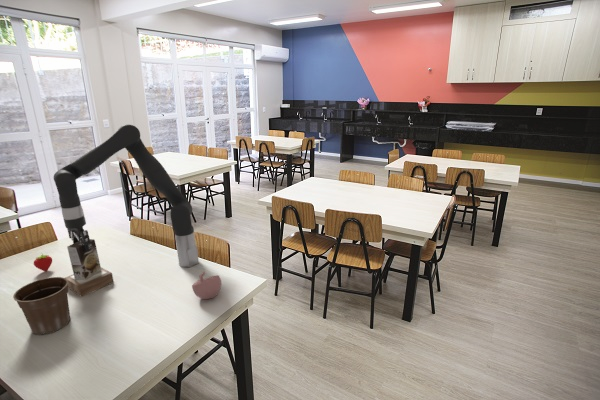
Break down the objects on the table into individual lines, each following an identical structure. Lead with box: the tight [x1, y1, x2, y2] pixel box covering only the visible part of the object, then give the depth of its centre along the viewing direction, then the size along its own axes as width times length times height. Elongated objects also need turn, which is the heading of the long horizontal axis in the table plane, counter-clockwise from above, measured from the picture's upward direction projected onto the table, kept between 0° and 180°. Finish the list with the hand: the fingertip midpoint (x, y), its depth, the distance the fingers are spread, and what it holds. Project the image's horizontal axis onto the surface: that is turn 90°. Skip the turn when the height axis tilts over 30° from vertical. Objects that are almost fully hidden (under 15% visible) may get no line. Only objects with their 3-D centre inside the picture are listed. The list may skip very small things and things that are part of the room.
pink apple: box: [191, 271, 222, 300], centre depth 140 cm, size 12×12×12 cm
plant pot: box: [12, 276, 71, 336], centre depth 124 cm, size 16×16×16 cm
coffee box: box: [66, 238, 101, 280], centre depth 148 cm, size 9×6×16 cm
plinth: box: [64, 267, 115, 298], centre depth 152 cm, size 14×14×5 cm
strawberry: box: [33, 253, 53, 272], centre depth 164 cm, size 6×8×10 cm
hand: (82, 249), depth 147 cm, fingers open, 8 cm apart
